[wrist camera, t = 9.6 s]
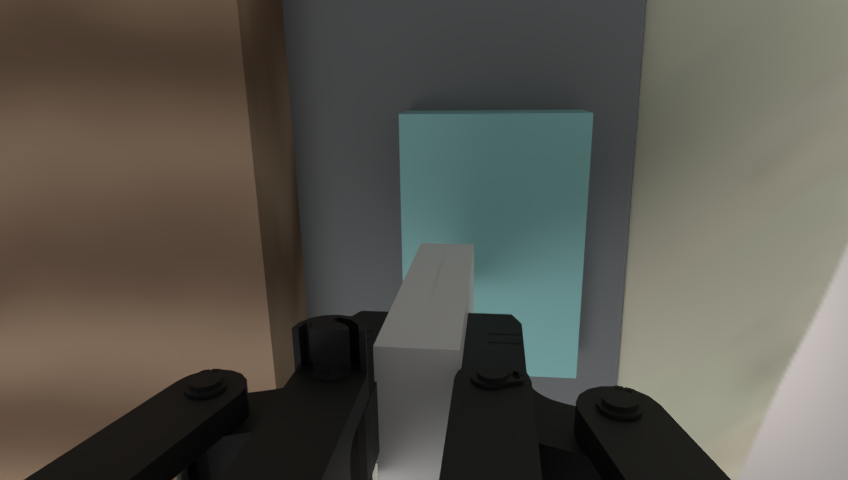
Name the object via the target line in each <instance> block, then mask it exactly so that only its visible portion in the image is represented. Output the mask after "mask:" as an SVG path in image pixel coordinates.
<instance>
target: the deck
mask: <svg viewBox="0 0 848 480" xmlns="http://www.w3.org/2000/svg"><path fill="white" fill-rule="evenodd" d="M306 319H308V315H307V302H306V290H305V278H304V265H303V253H302V241H301V229H300V216H299V204H298V192H297V180H296V167H295V155H294V143H293V130H292V118H291V106H290V94H289V81H288V69H287V57H286V45H285V32H284V20H283V8H282V0H0V480H24V479H26V478H27V477H29V476H30V475H32V474H33V473H35V472H37V471H38V470H40V469H41V468H43V467H44V466H46V465H47V464H49V463H51V462H52V461H54V460H55V459H57V458H58V457H60V456H61V455H63V454H64V453H66V452H68V451H69V450H71V449H72V448H74V447H75V446H77V445H78V444H80V443H82V442H83V441H85V440H86V439H88V438H89V437H91V436H92V435H94V434H96V433H97V432H99V431H100V430H102V429H103V428H105V427H106V426H108V425H109V424H111V423H113V422H114V421H116V420H117V419H119V418H120V417H122V416H123V415H125V414H127V413H128V412H130V411H131V410H133V409H134V408H136V407H137V406H139V405H141V404H142V403H144V402H145V401H147V400H148V399H150V398H151V397H153V396H155V395H156V394H158V393H159V392H161V391H162V390H164V389H165V388H167V387H168V386H170V385H172V384H173V383H175V382H176V381H178V380H180V379H182V378H184V377H186V376H188V375H192V374H195V373H199V372H200V371H202V370H207V369H210V370H212V369H222V370H233V371H236V372H238V373H241V374H242V375H243V376H244V377H245V378H246V379H247V386H248V393H250V392H258V391H266V390H273V389H279V388H283V387H284V386H285V384H286V383H287V381H288V380H289V379H290V377H291V376H292V374H293V373H294V371H295V363H294V351H293V338H292V327H294V326H295V325H296V324H297V323H299V322H301V321H304V320H306ZM172 480H177V476H176V477H175V478H174V479H172Z"/></svg>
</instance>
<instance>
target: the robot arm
mask: <svg viewBox="0 0 848 480" xmlns="http://www.w3.org/2000/svg"><path fill="white" fill-rule="evenodd" d="M473 307H474V244H440V243H421V244H420V246H419V248H418V250H417V253H416V255H415V257H414V259H413V261H412V263H411V265H410V268H409V270H408V272H407V274H406V276H405V278H404V281H403V283H402V285H401V287H400V289H399V291H398V293H397V296H396V298H395V300H394V302H393V304H392V306H391V309H390V311H389V312H384V311H360V312H358V313H356V314H355V315H353V316H346V315H322V316H317V317H312V318H309V319H306V320H304V321H301V322H299V323H297V324H296V325H295V326H294V327H292V338H293V351H294V363H295V371H294V373H293V374H292V376H291V377H290V379H289V380H288V381H287V383H286V384H285V386H284V387H283V388H279V389H273V390H266V391H258V392H250V393H248V386H247V379H246V378H245V377H244V376H243V375H242V374H241V373H238V372H236V371H233V370H222V369H212V370H210V369H207V370H202V371H200V372H199V373H195V374H192V375H188V376H186V377H184V378H182V379H180V380H178V381H176V382H175V383H173V384H172V385H170V386H168V387H167V388H165V389H164V390H162V391H161V392H159V393H158V394H156V395H155V396H153V397H151V398H150V399H148V400H147V401H145V402H144V403H142V404H141V405H139V406H137V407H136V408H134V409H133V410H131V411H130V412H128V413H127V414H125V415H123V416H122V417H120V418H119V419H117V420H116V421H114V422H113V423H111V424H109V425H108V426H106V427H105V428H103V429H102V430H100V431H99V432H97V433H96V434H94V435H92V436H91V437H89V438H88V439H86V440H85V441H83V442H82V443H80V444H78V445H77V446H75V447H74V448H72V449H71V450H69V451H68V452H66V453H64V454H63V455H61V456H60V457H58V458H57V459H55V460H54V461H52V462H51V463H49V464H47V465H46V466H44V467H43V468H41V469H40V470H38V471H37V472H35V473H33V474H32V475H30V476H29V477H27V478H26V479H24V480H172V479H174V478H175V477H176V476H177V480H372V473H373V470H374V467H375V464H376V461H377V459H378V480H731V479H730V478H729V477H728V476H727V475H726V474H725V473H724V472H723V471H722V470H721V469H720V468H719V467H718V466H717V464H716V463H715V462H714V461H713V460H712V459H711V458H710V457H709V456H708V455H707V454H706V453H705V452H704V451H703V450H702V449H701V448H700V447H699V445H698V444H697V443H696V442H695V441H694V440H693V439H692V438H691V437H690V436H689V435H688V434H687V433H686V432H685V431H684V430H683V429H682V427H681V426H680V425H679V424H678V423H677V422H676V421H675V420H674V419H673V418H672V417H671V416H670V415H669V414H668V413H667V412H666V411H665V409H664V408H663V407H662V406H661V405H660V404H658V403H657V402H656V401H654V400H653V399H652V398H650V397H649V396H647V395H645V394H642V393H640V392H638V391H635V390H634V389H630V388H627V387H625V388H623V387H622V386H600V387H595V388H590V389H587V390H586V391H584V392H582V393H581V394H579V396H578V398H577V400H576V406H574V405H569V404H565V403H561V402H558V401H555V400H551V399H549V398H547V397H545V396H543V395H541V394H540V393H538V392H537V391H535V390H534V389H533V388H532V381H531V379H530V377H529V375H528V374H527V371H526V361H525V351H524V341H523V331H522V324H521V323H520V322H519V321H518V320H517V319H516V318H515V317H514V316H513V315H512V314H488V313H473Z"/></svg>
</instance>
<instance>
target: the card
mask: <svg viewBox="0 0 848 480" xmlns="http://www.w3.org/2000/svg"><path fill="white" fill-rule="evenodd" d="M592 127H593V113H592V112H589V111H586V110H584V109H583V110H437V111H406V112H403V113H401V114H399V149H400V190H401V231H402V272H403V281H404V278H405V276H406V274H407V272H408V270H409V268H410V265H411V263H412V261H413V259H414V257H415V255H416V253H417V250H418V248H419V246H420V244H421V243H440V244H474V307H473V313H488V314H512V315H513V316H514V317H515V318H516V319H517V320H518V321H519V322H520V323H521V324H522V331H523V341H524V351H525V361H526V371H527V374H528V375H529V376H534V377H555V378H576V373H577V357H578V342H579V327H580V311H581V296H582V281H583V265H584V250H585V235H586V219H587V204H588V189H589V173H590V158H591V143H592Z"/></svg>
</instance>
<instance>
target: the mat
mask: <svg viewBox="0 0 848 480" xmlns="http://www.w3.org/2000/svg"><path fill="white" fill-rule="evenodd" d="M646 2H647V0H282V8H283V20H284V32H285V45H286V57H287V69H288V81H289V94H290V106H291V118H292V130H293V143H294V155H295V167H296V180H297V192H298V204H299V216H300V229H301V241H302V253H303V265H304V278H305V290H306V302H307V315H308V319H309V318H312V317H317V316H322V315H346V316H353V315H355V314H356V313H358V312H360V311H384V312H389V311H390V309H391V306H392V304H393V302H394V300H395V298H396V296H397V293H398V291H399V289H400V287H401V285H402V283H403V272H402V231H401V190H400V149H399V114H401V113H403V112H406V111H437V110H583V109H584V110H586V111H589V112H592V113H593V127H592V143H591V158H590V173H589V189H588V204H587V219H586V235H585V250H584V265H583V281H582V296H581V311H580V327H579V342H578V357H577V373H576V378H555V377H534V376H529V377H530V379H531V381H532V388H533V389H534V390H535V391H537V392H538V393H540V394H541V395H543V396H545V397H547V398H549V399H551V400H555V401H558V402H561V403H565V404H569V405H574V406H576V400H577V398H578V396H579V394H581V393H582V392H584V391H586V390H587V389H590V388H595V387H600V386H617V376H618V363H619V350H620V337H621V324H622V311H623V298H624V285H625V273H626V260H627V247H628V234H629V221H630V208H631V195H632V182H633V169H634V157H635V144H636V131H637V118H638V105H639V92H640V79H641V66H642V54H643V41H644V28H645V15H646ZM376 463H378V459H377V461H376Z"/></svg>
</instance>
